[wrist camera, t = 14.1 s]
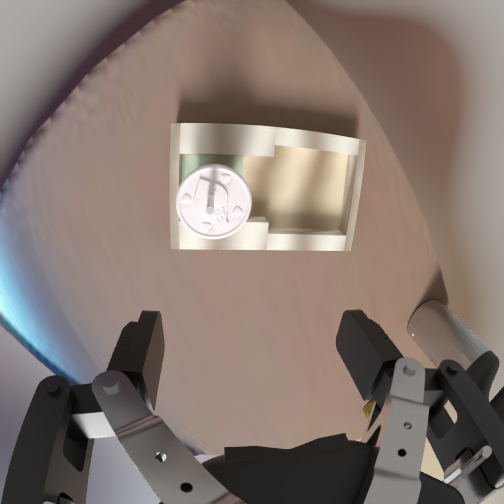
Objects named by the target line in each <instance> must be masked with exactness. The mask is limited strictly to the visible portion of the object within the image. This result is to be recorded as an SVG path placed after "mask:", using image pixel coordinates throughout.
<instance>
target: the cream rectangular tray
mask: <svg viewBox="0 0 504 504" xmlns="http://www.w3.org/2000/svg"><path fill="white" fill-rule="evenodd" d="M365 149H366V141H365V140H360V139H355V138H350V137H344V136H339V135H333V134H327V133H320V132H313V131H306V130H298V129H289V128H280V127H270V126H257V125H242V124H219V123H171V140H170V235H171V249H219V250H322V251H350V250H351V245H352V240H353V234H354V229H355V223H356V217H357V211H358V204H359V198H360V191H361V183H362V176H363V167H364V159H365ZM210 164H219V165H225V166H228V167H230V168H232V169H234V170H236V171H237V172H238V173H239V174H240V175H241V176H242V177H243V178H244V180H245V181H246V183H247V184H248V187H249V190H250V193H251V198H252V205H251V211H250V214H249V217H248V219H247V221H246V222H245V224H244V225H243V226H242V227H241V228H240V229H239V230H238V231H237V232H235V233H234V234H232V235H230V236H228V237H225V238H221V239H206V238H202V237H199V236H197V235H195V234H193V233H192V232H190V231H189V230H188V229H187V228H186V227H185V226H184V225H183V224H182V222H181V220H180V218H179V216H178V213H177V209H176V197H177V192H178V189H179V187H180V185H181V183H182V181H183V180H184V179H185V177H186V176H187V175H188V174H189V173H191V172H192V171H193V170H195V169H196V168H199V167H201V166H204V165H210Z"/></svg>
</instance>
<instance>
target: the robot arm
mask: <svg viewBox="0 0 504 504" xmlns="http://www.w3.org/2000/svg"><path fill="white" fill-rule="evenodd" d="M407 330H408V334H409V335H410V337H411V338H412V339H413V340H414V341H415V342H416V344H417V345H418V346H419V347H420V348H421V350H422V351H423V352H424V353H425V354H426V356H427V357H428V358H429V359H430V360H431V362H432V363H433V364H434V365H435V367H436V368H437V369H427V368H424V366H423V365H422V364H421V363H420V362H419V361H417V360H415V359H413V358H408V357H403V355H402V354H401V353H400V351H399V350H398V349H397V347H396V346H395V345H394V343H393V342H392V341H391V339H389V337H388V336H387V334H385V332H384V330H383V329H382V328H381V327H380V325H379V324H377V323H376V322H374V321H373V320H371V319H368V317H367V316H366V315H365V313H364V312H363V311H362V310H346V311H345V312H344V313H343V316H342V319H341V323H340V326H339V330H338V333H337V337H336V347H337V350H338V352H339V354H340V356H341V358H342V360H343V362H344V363H345V365H346V367H347V369H348V371H349V373H350V375H351V377H352V379H353V381H354V383H355V384H356V386H357V388H358V390H359V392H360V394H361V396H362V398H363V400H364V401H365V400H369V399H374V400H375V403H374V405H373V407H372V410H371V414H370V417H369V420H368V423H367V426H366V429H365V432H364V435H363V437H362V439H361V441H360V442H359V441H352V440H348V439H347V437H346V434H345V433H342V434H338V435H333V436H328V437H323V438H318V439H315V440H313V441H310V442H308V443H305V444H303V445H300V446H298V447H295V448H292V449H279V448H269V447H261V446H246V447H224V455H221V456H217V457H214V458H212V459H210V460H207V461H205V462H203V463H202V464H200V462H199V461H198V460H197V459H196V458H195V457H194V456H193V455H192V454H191V453H190V452H189V451H188V449H187V448H186V447H185V446H184V445H183V444H182V443H181V441H180V440H179V439H178V438H177V437H176V436H175V434H174V433H173V432H172V431H171V430H170V428H169V427H168V426H167V425H166V423H165V422H164V421H163V420H162V419H161V418H160V417H159V416H155V415H154V414H153V413H154V410H155V403H156V397H157V391H158V385H159V379H160V373H161V367H162V362H163V357H164V348H165V344H164V335H163V327H162V319H161V313H160V311H144V310H143V311H142V312H141V315H140V318H139V320H138V322H132V321H131V322H129V323H128V324H127V325H126V326H125V327H124V328H123V329H122V332H121V334H120V337H119V339H118V342H117V346H116V347H115V349H114V352H113V354H112V357H111V360H110V362H109V365H108V368H107V370H106V371H105V372H102V373H100V374H98V375H97V376H96V377H95V378H94V380H93V382H92V383H90V384H82V385H70V383H69V382H68V380H67V379H66V378H64V377H62V376H58V375H53V376H49V377H46V378H45V379H43V380H42V381H41V382H40V383H39V385H38V387H37V389H36V392H35V394H34V396H33V399H32V401H31V403H30V406H29V409H28V411H27V414H26V416H25V419H24V422H23V425H22V427H21V430H20V433H19V436H18V439H17V442H16V445H15V448H14V451H13V455H12V458H11V462H10V466H9V469H8V474H7V477H6V482H5V486H4V491H3V496H2V502H1V504H85V502H86V492H87V484H88V476H89V469H90V462H91V455H92V450H93V444H94V438H101V437H110V436H116V437H117V438H118V440H119V441H120V443H121V445H122V446H123V448H124V450H125V451H126V453H127V454H128V456H129V458H130V459H131V461H132V462H133V463H134V465H135V466H136V468H137V469H138V471H139V472H140V474H141V475H142V476H143V478H144V479H145V480H146V482H147V483H148V484H149V486H150V487H151V488H152V490H153V491H154V492H155V493H156V495H157V496H158V497H159V498H160V500H161V502H160V503H159V504H479V503H480V502H482V501H484V500H485V499H487V498H488V497H489V496H491V495H493V494H494V493H495V492H497V491H498V490H500V489H501V488H502V487H504V387H503V388H502V389H501V390H500V391H499V392H498V394H497V395H496V396H495V397H494V398H493V399H492V400H491V402H489V392H490V388H491V385H492V382H493V380H494V377H495V375H496V373H497V371H498V368H499V359H498V357H497V356H496V355H495V354H494V353H493V352H492V351H491V350H490V349H489V348H488V347H487V346H486V345H485V344H484V343H483V342H482V341H481V340H480V339H479V338H478V337H477V336H476V335H475V334H474V333H473V332H472V331H471V330H470V328H469V327H468V326H467V325H466V324H465V323H464V322H463V321H462V320H461V319H460V318H459V317H458V316H456V315H455V314H454V313H453V312H452V311H451V310H450V309H449V308H448V307H446V306H445V305H444V304H441V303H440V302H439V301H438V300H435V299H433V300H429V301H427V302H425V303H424V304H422V305H421V306H420V307H419V308H418V309H417V310H416V311H415V313H414V314H413V315H412V317H411V319H410V321H409V324H408V329H407ZM448 400H449V401H450V402H451V404H452V406H453V407H454V409H455V410H456V412H457V416H458V417H457V422H456V423H455V424H454V422H453V421H452V419H451V417H450V416H449V414H448V413H447V411H446V409H445V408H444V405H445V404H446V403H447V401H448ZM426 437H427V438H428V440H429V442H430V444H431V446H432V448H433V450H434V452H435V455H436V457H437V459H438V461H439V463H440V465H441V467H442V469H443V471H444V480H443V481H440V480H438V479H436V478H434V477H432V476H430V475H428V474H425V473H423V472H421V471H420V469H421V463H422V458H423V453H424V447H425V440H426Z"/></svg>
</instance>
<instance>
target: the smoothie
mask: <svg viewBox="0 0 504 504" xmlns="http://www.w3.org/2000/svg"><path fill="white" fill-rule="evenodd" d="M251 205H252V198H251V193H250V190H249V187H248V184H247V183H246V181H245V180H244V178H243V177H242V176H241V175H240V174H239V173H238V172H237V171H236V170H234V169H232V168H230V167H228V166H225V165H219V164H210V165H204V166H201V167H199V168H196V169H195V170H193V171H192V172H191V173H189V174H188V175H187V176H186V177H185V179H184V180H183V181H182V183H181V185H180V187H179V189H178V192H177V197H176V209H177V213H178V216H179V218H180V220H181V222H182V224H183V225H184V226H185V227H186V228H187V229H188V230H189V231H190V232H192V233H193V234H195V235H197V236H199V237H202V238H206V239H221V238H225V237H228V236H230V235H232V234H234V233H235V232H237V231H238V230H239V229H240V228H241V227H242V226H243V225H244V224H245V222H246V221H247V219H248V217H249V214H250V211H251Z"/></svg>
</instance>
